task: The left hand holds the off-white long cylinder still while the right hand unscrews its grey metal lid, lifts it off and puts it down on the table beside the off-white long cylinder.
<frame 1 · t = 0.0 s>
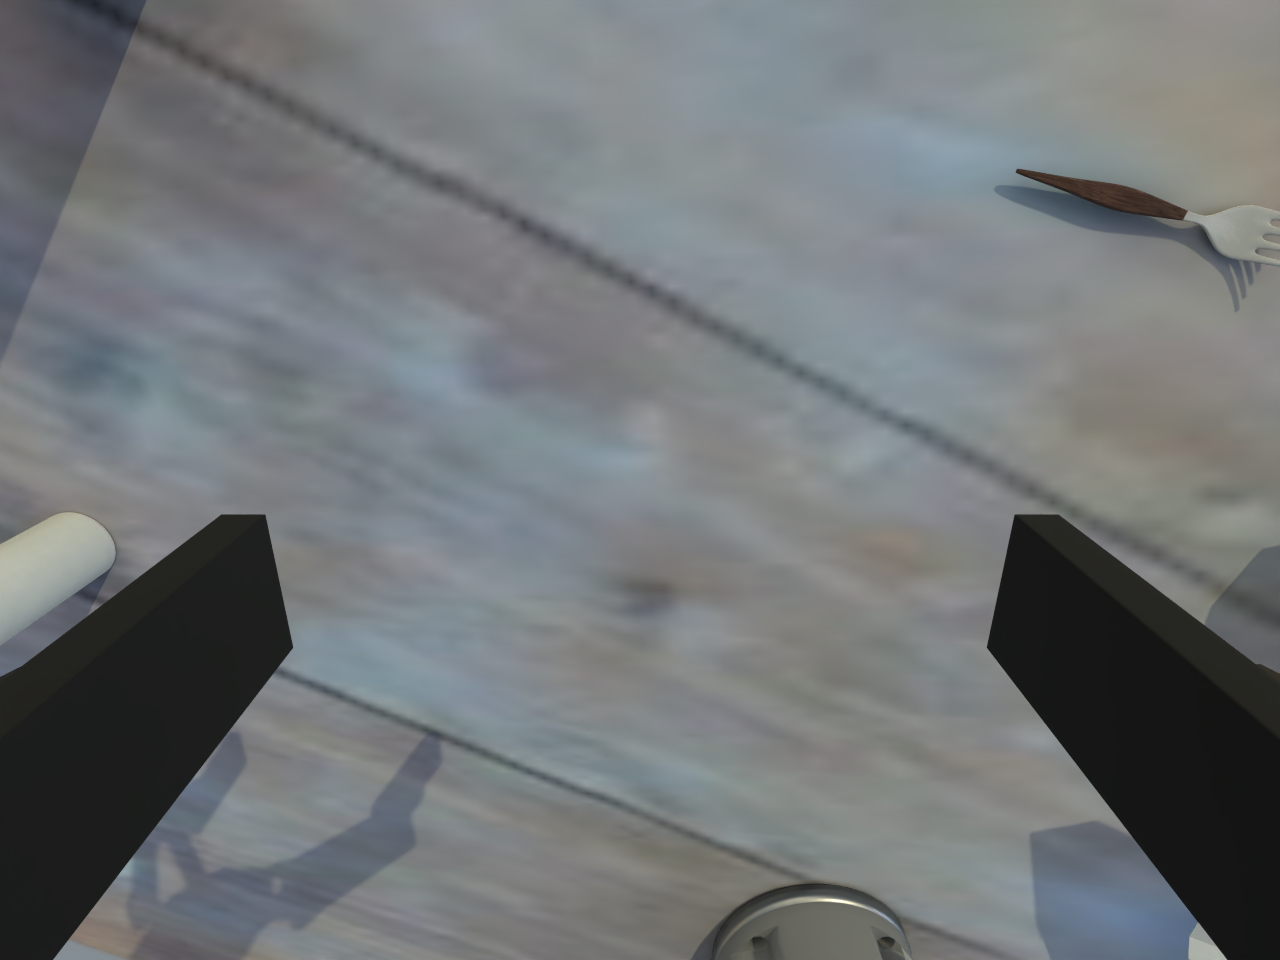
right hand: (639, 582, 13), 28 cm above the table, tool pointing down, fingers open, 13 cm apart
off-white long cylinder: (79, 544, 44), on the table
fork: (1154, 209, 37), on the table
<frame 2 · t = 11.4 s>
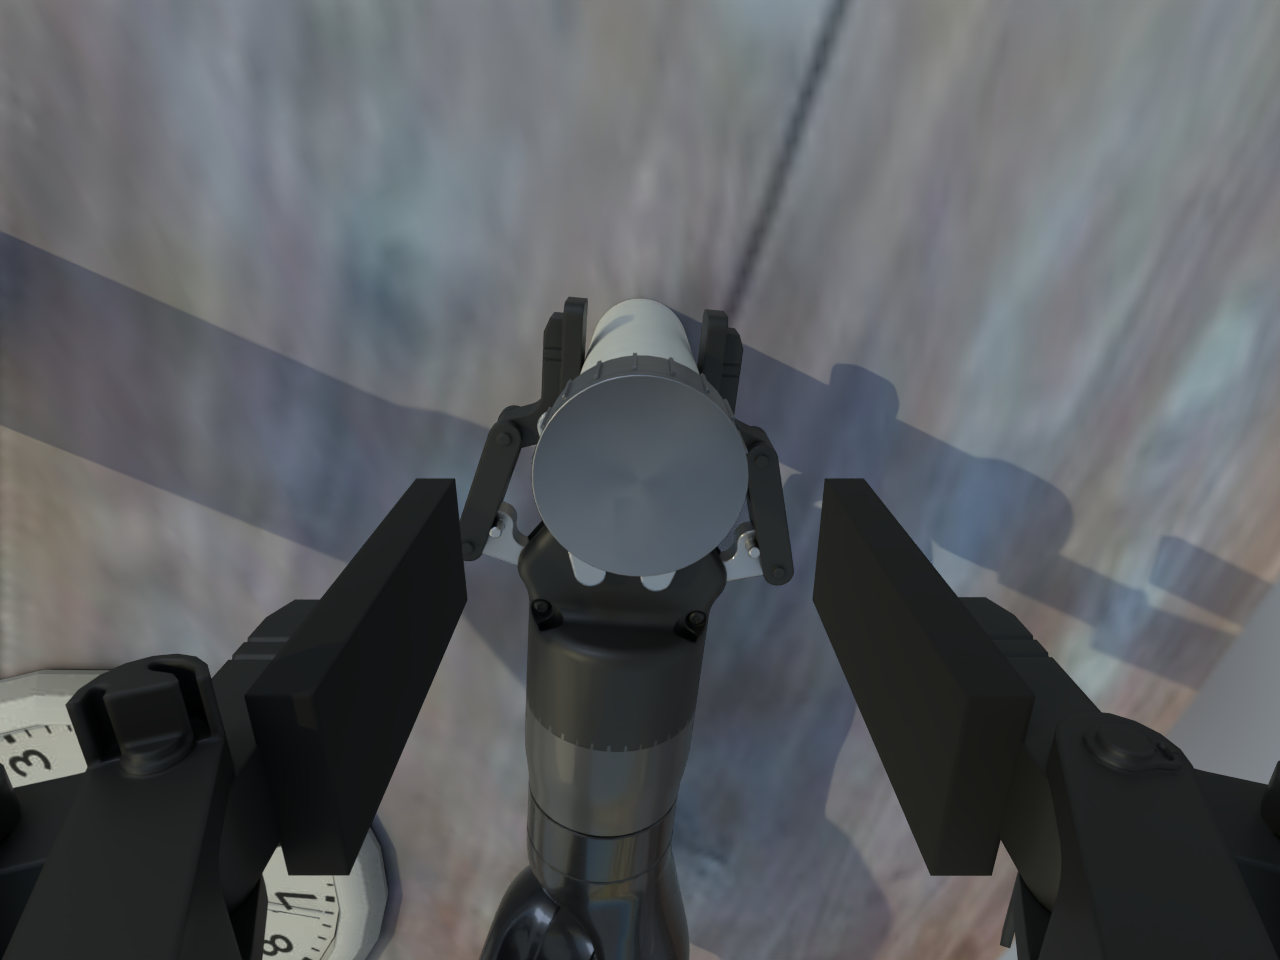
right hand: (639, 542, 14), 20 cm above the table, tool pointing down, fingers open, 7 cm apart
left hand: (645, 308, 26), fingers closed on off-white long cylinder, 4 cm apart
wall clock: (147, 865, 45), on the table
off-white long cylinder: (639, 346, 33), on the table, touching left hand
lid: (639, 476, 18), point 16 cm above the table, screwed on, not yet turned
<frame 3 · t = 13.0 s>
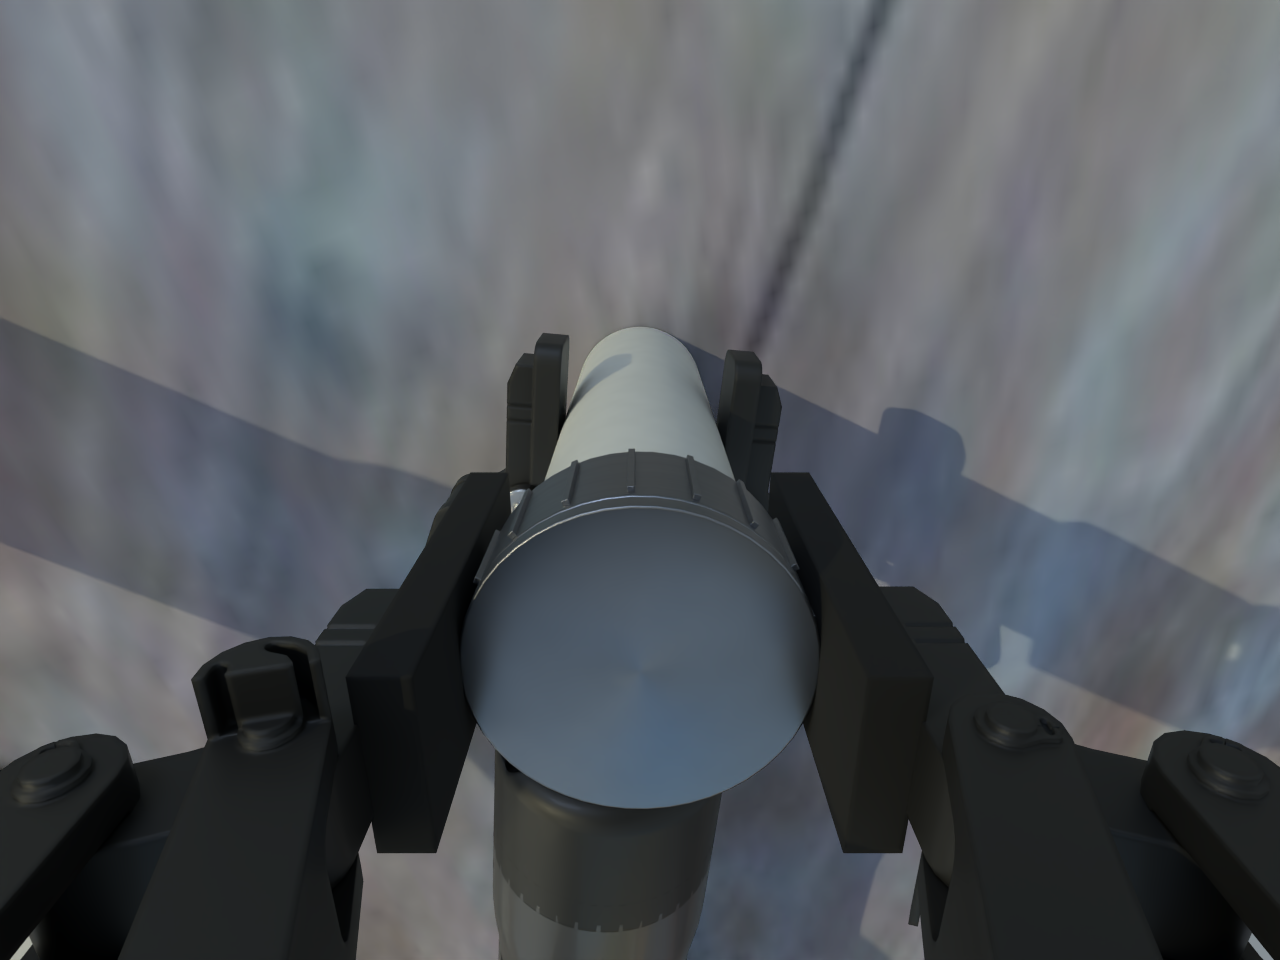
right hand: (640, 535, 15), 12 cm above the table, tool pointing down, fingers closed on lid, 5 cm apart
off-white long cylinder: (639, 386, 26), on the table, touching left hand
lid: (639, 657, 11), point 16 cm above the table, screwed on, not yet turned, touching right hand
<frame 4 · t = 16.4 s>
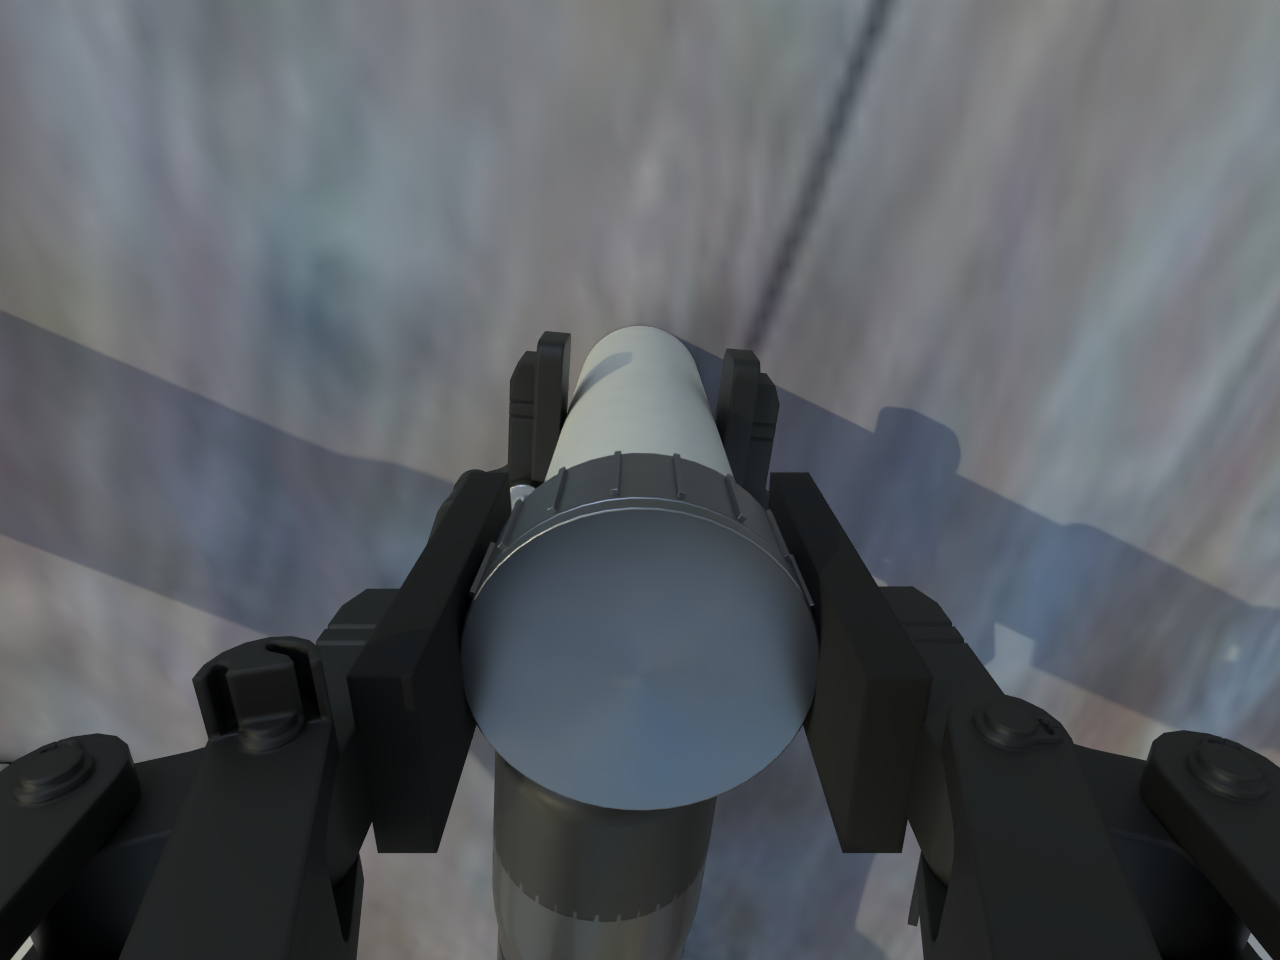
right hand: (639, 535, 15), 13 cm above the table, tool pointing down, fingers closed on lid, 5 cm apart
off-white long cylinder: (639, 385, 26), on the table, touching left hand
lid: (639, 659, 11), point 17 cm above the table, turned 105° so far, risen 0.4 cm, still on its thread, touching right hand
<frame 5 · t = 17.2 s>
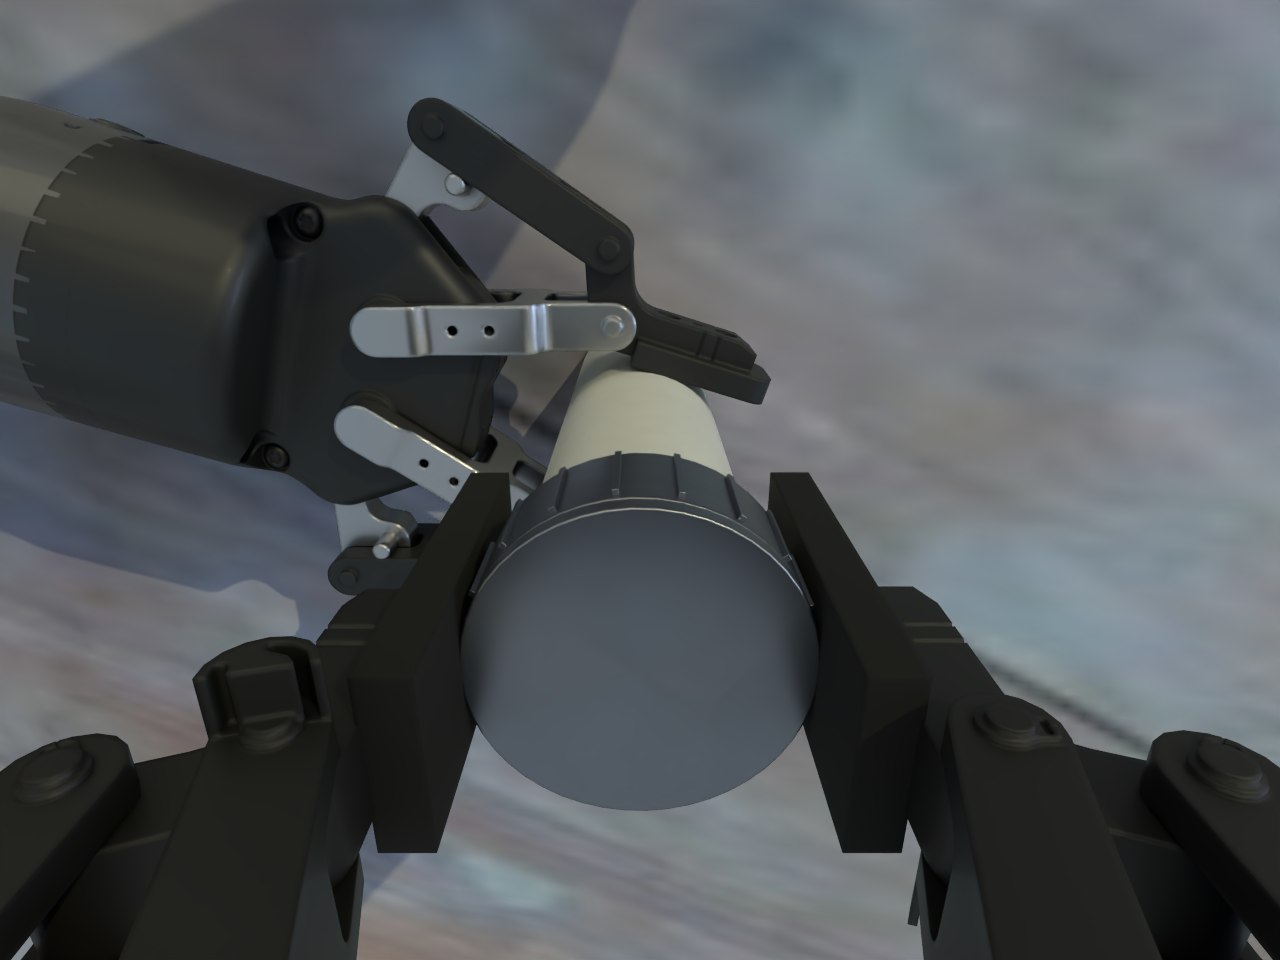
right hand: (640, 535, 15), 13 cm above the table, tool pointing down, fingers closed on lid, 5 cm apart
left hand: (728, 464, 21), fingers closed on off-white long cylinder, 4 cm apart
off-white long cylinder: (638, 381, 27), on the table, touching left hand
lid: (639, 659, 11), point 17 cm above the table, off its thread, touching right hand
when the right hand's fingers open (0 cm above the table, at t = 22.8 s): lid drops 2 cm, point 2 cm above the table.
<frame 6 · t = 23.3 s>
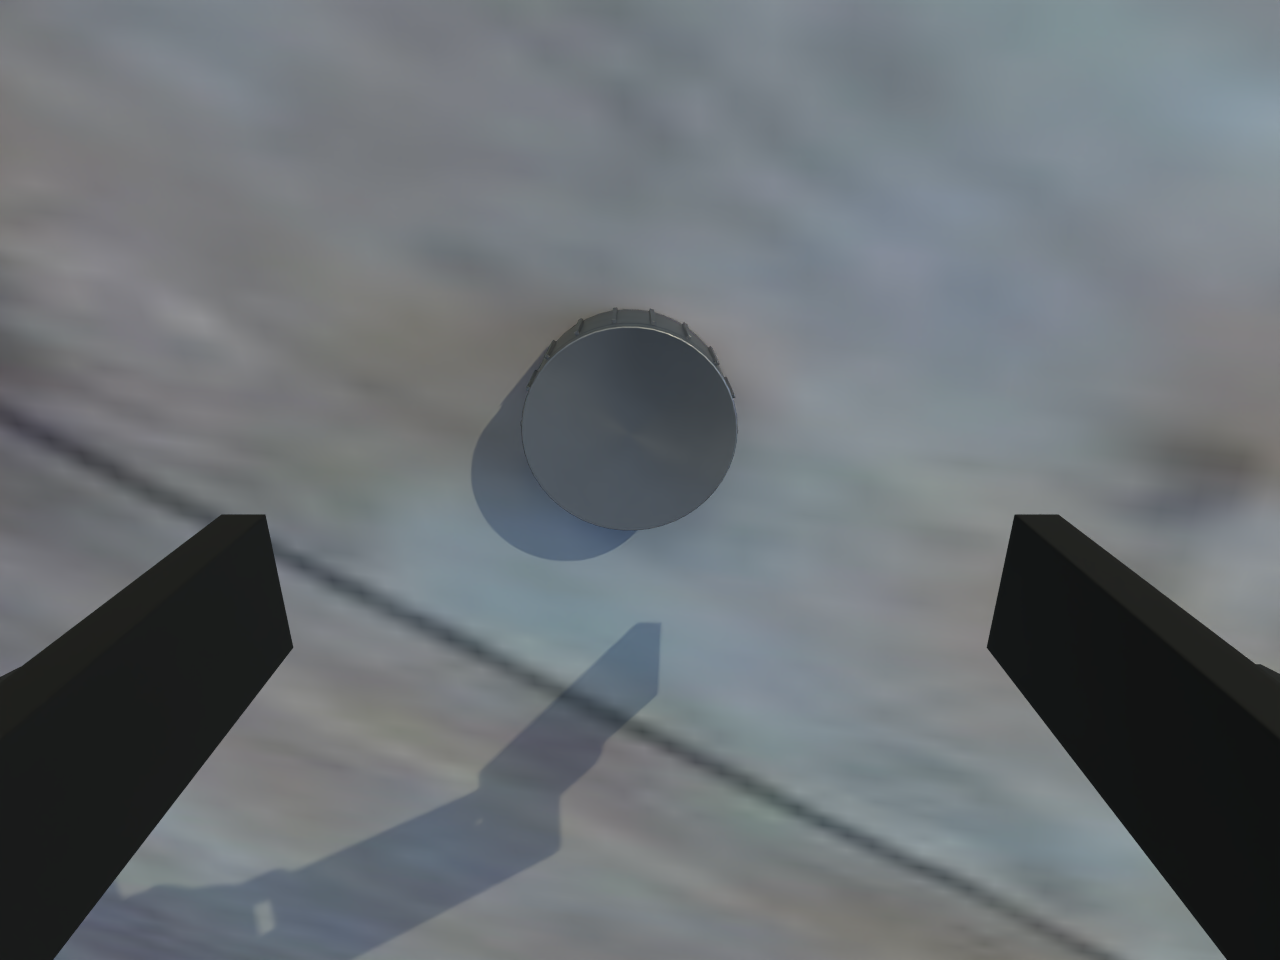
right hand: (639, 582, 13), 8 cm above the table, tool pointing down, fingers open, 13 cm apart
lid: (629, 429, 18), point 2 cm above the table, off its thread
when the left hand's fingers open (7 cm above the table, at t = 23.4 s): off-white long cylinder stays where it is, on the table.
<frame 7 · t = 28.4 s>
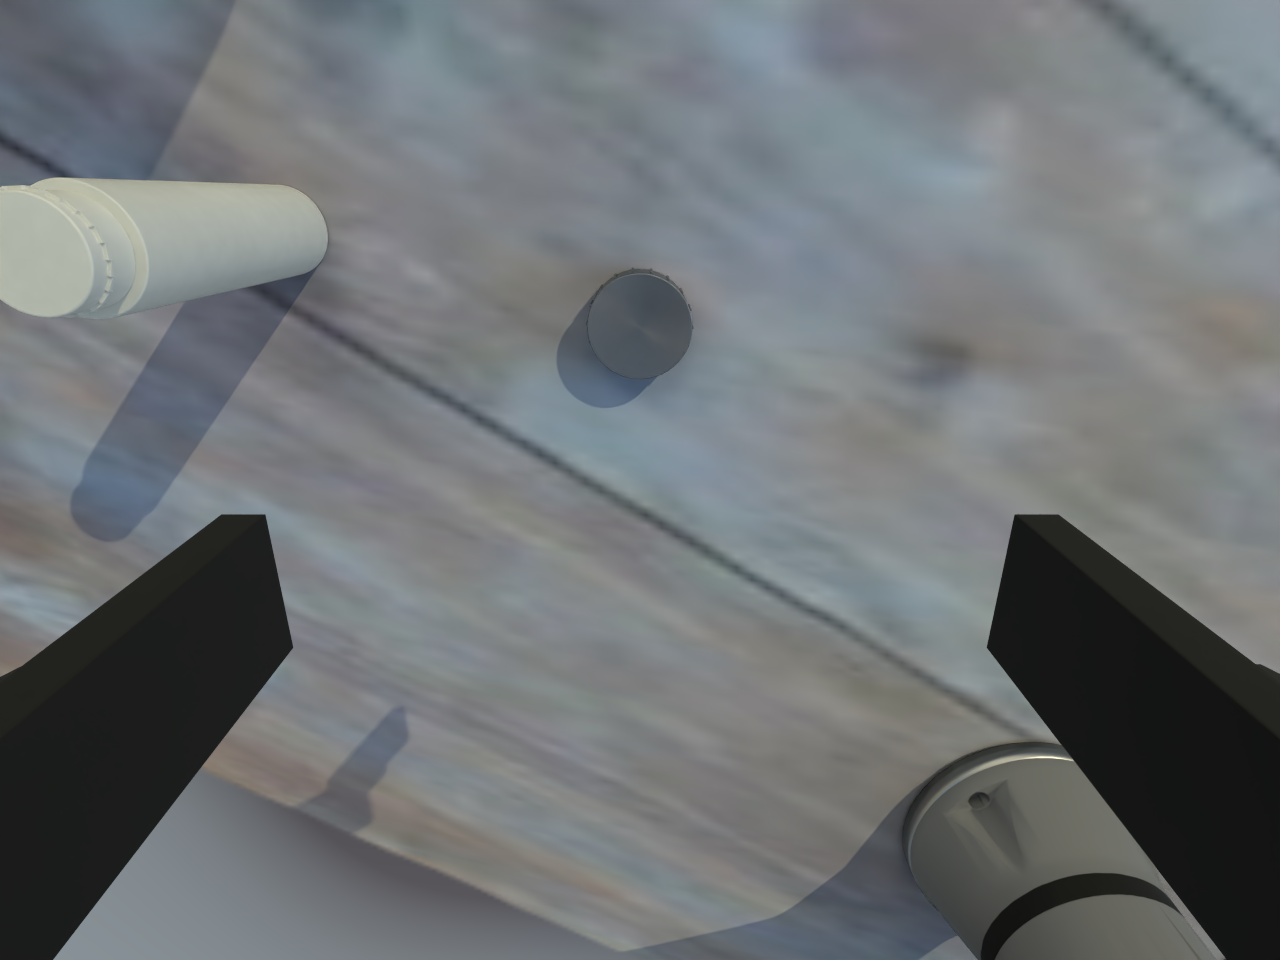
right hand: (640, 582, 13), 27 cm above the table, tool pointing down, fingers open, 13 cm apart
off-white long cylinder: (284, 231, 36), on the table
lid: (639, 326, 36), point 2 cm above the table, off its thread
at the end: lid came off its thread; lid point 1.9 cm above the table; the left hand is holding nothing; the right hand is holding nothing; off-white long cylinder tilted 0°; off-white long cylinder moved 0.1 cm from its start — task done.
